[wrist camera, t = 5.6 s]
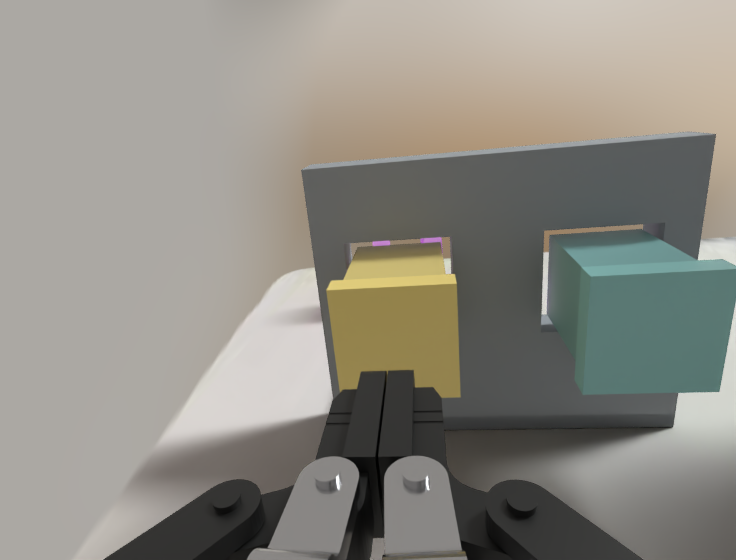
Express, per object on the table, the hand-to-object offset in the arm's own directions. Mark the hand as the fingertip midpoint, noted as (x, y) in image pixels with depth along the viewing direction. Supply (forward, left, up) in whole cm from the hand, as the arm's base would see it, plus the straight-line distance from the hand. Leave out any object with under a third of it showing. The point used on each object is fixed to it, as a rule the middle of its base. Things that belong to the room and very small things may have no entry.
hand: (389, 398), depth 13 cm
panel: (-4, -12, -8) cm, 15 cm away
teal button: (-9, -7, -3) cm, 12 cm away
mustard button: (0, -7, -3) cm, 8 cm away
